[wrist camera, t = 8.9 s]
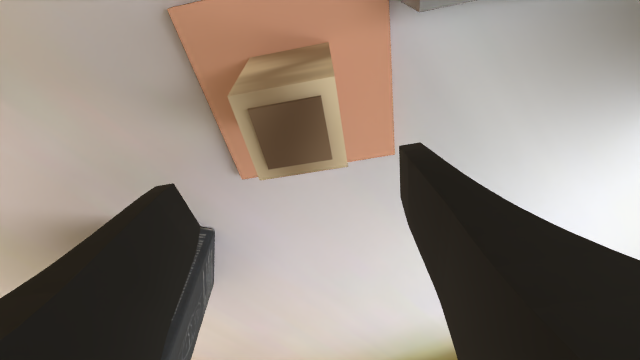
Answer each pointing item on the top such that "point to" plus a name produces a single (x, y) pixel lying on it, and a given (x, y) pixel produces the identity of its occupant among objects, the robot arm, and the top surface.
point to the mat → (290, 33)
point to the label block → (290, 112)
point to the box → (192, 301)
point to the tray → (431, 4)
